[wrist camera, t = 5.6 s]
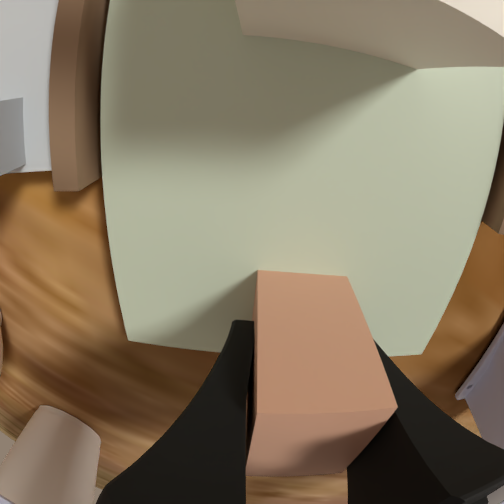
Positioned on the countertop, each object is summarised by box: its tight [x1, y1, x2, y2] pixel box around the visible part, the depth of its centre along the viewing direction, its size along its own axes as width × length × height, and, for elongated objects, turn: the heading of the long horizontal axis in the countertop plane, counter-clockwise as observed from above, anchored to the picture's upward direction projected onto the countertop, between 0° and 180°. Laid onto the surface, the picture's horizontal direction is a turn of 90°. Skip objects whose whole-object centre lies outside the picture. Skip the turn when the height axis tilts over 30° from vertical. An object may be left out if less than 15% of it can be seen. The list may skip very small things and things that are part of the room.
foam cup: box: [0, 405, 101, 504], centre depth 13 cm, size 10×9×13 cm
